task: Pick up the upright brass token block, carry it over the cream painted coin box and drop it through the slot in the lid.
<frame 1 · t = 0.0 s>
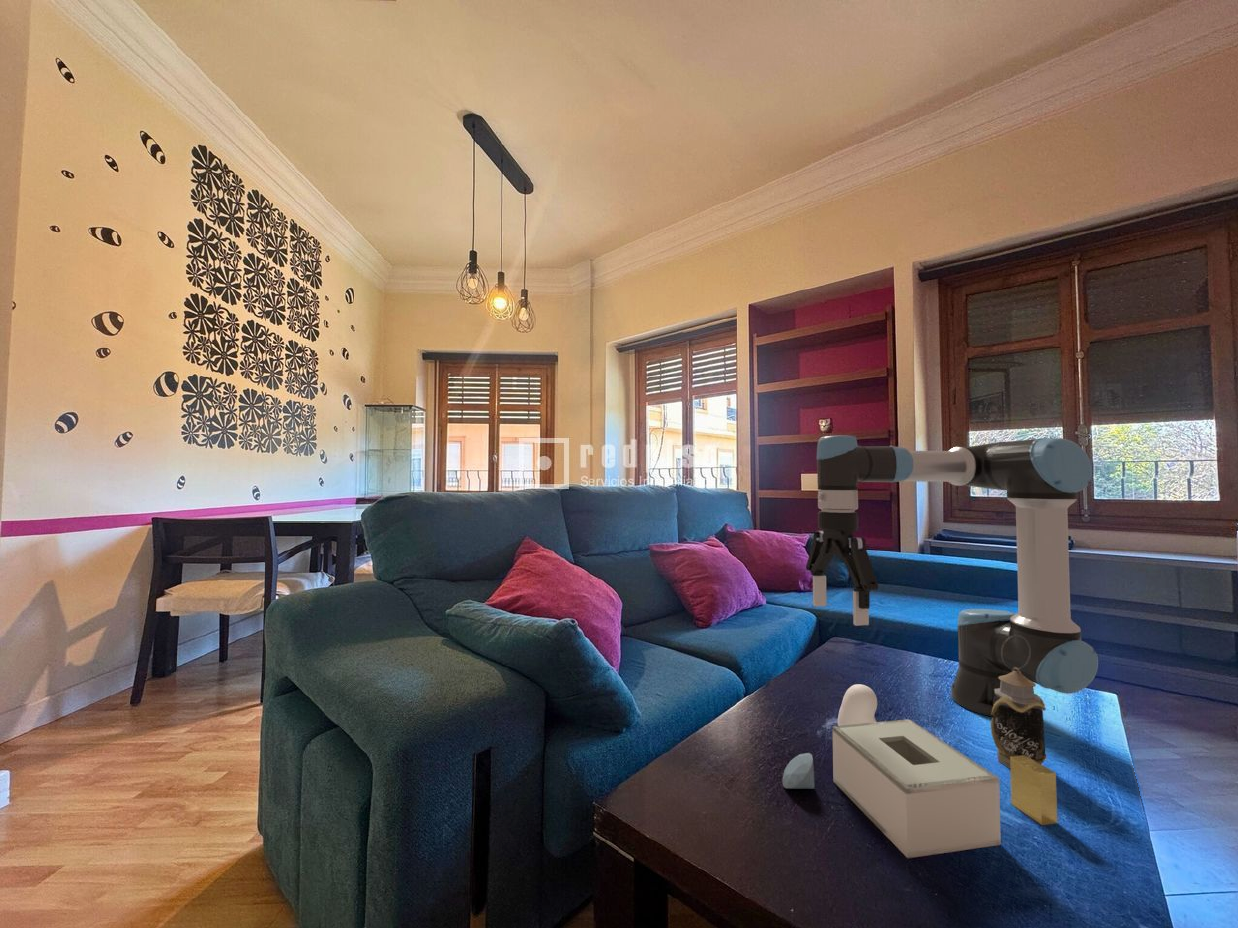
hand: (839, 614, 97), 28 cm above the table, fingers open, 13 cm apart
gemstone: (798, 786, 86), on the table
figurine: (857, 743, 100), on the table
ring-topped bottle ornament: (1018, 765, 93), on the table
token: (1033, 813, 79), on the table
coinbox: (909, 809, 80), on the table
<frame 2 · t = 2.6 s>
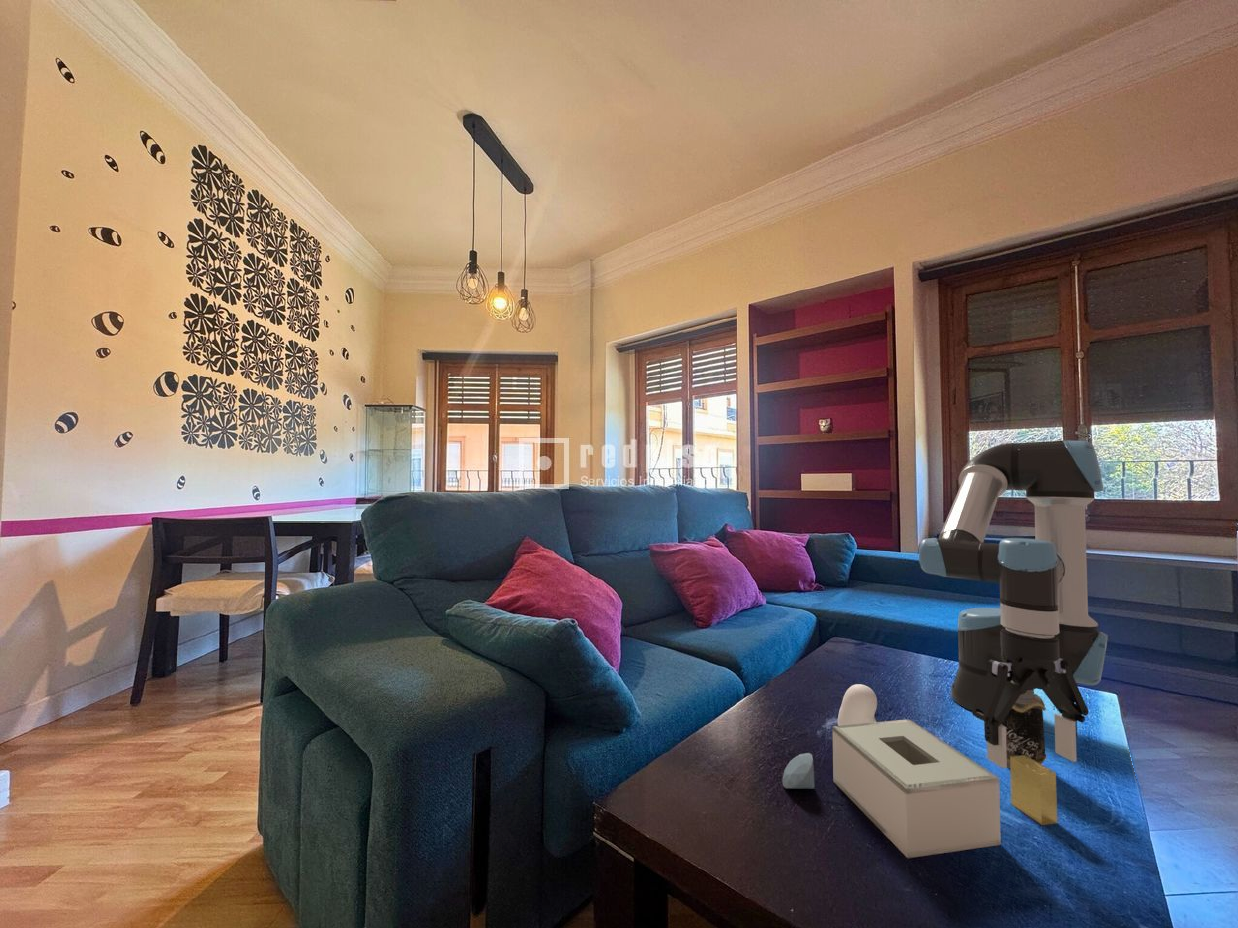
hand: (1031, 760, 79), 9 cm above the table, fingers open, 13 cm apart
nothing on the table moved.
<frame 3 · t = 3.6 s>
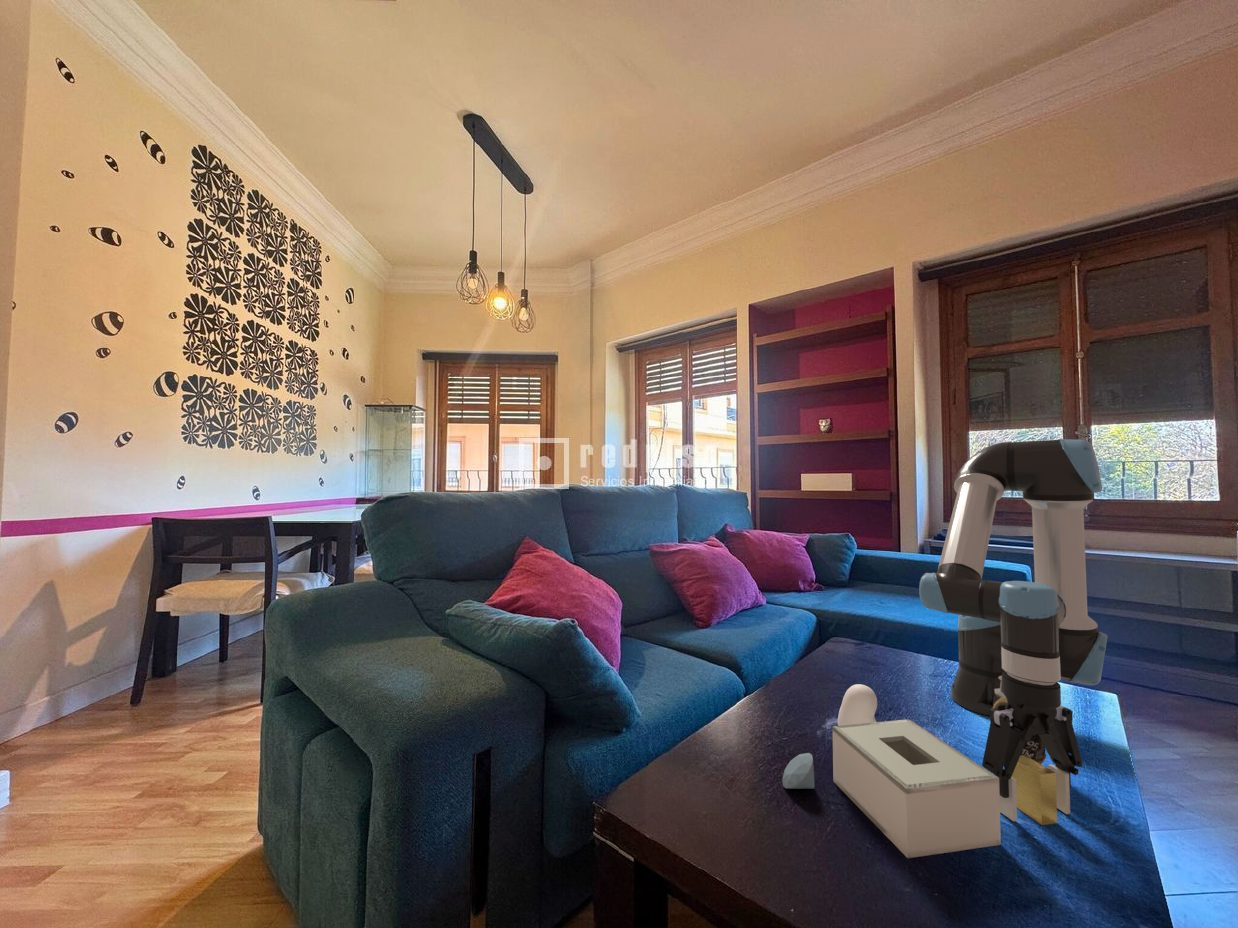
hand: (1033, 811, 79), 0 cm above the table, fingers open, 10 cm apart
nothing on the table moved.
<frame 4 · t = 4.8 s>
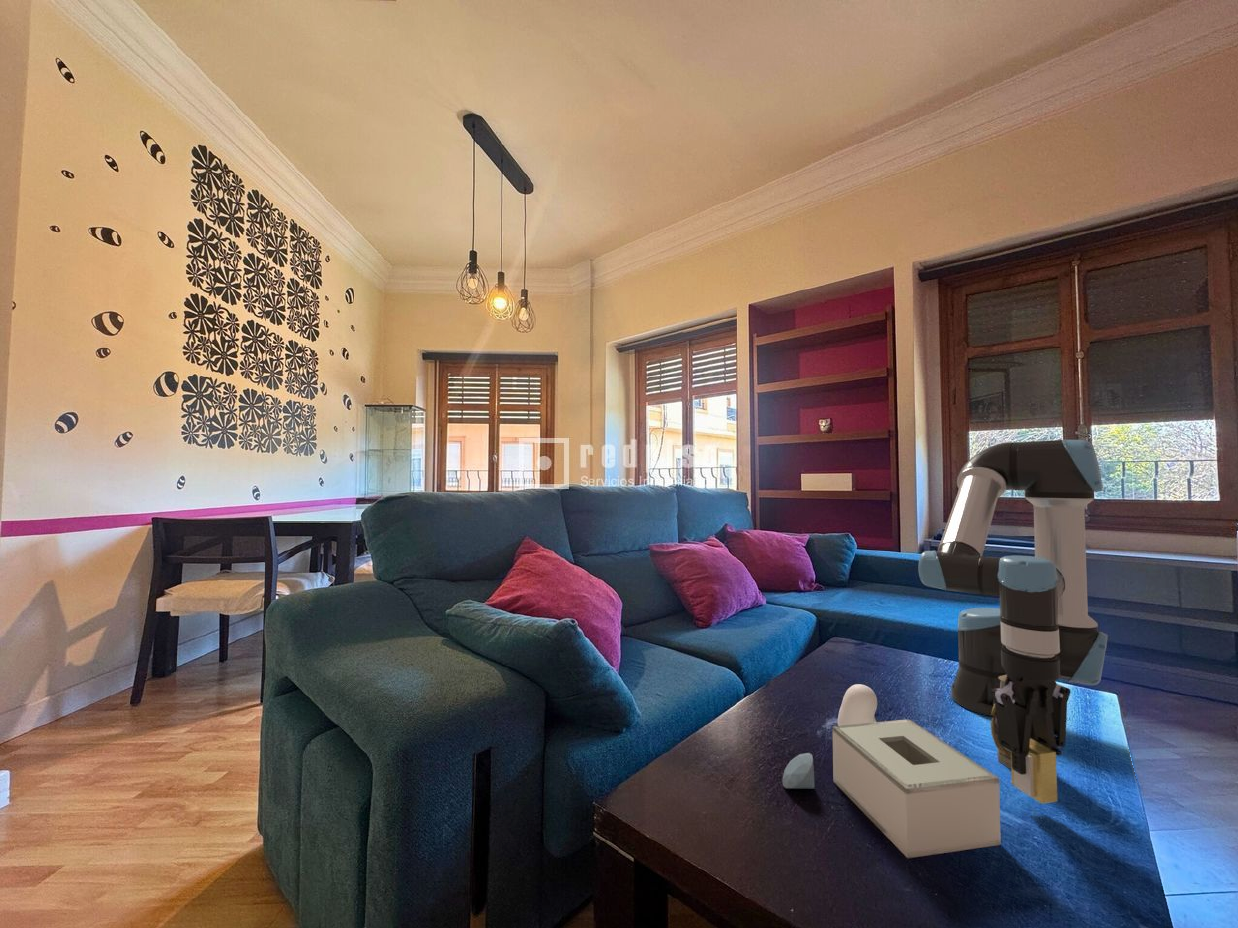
hand: (1033, 789, 80), 4 cm above the table, fingers closed on token, 3 cm apart
token: (1033, 792, 80), point 3 cm above the table, touching gripper
everything else where it was.
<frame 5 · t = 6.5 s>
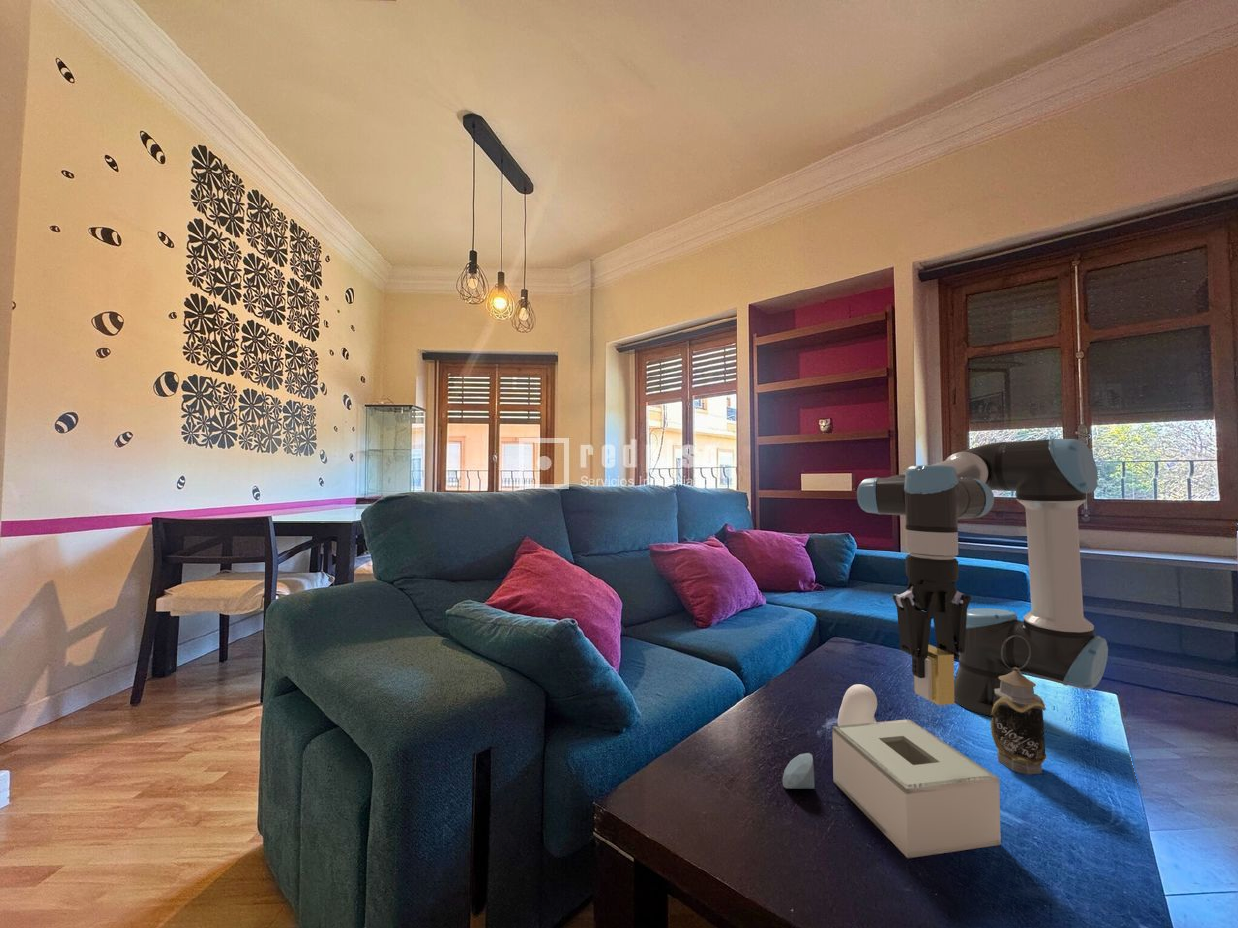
hand: (933, 695, 80), 19 cm above the table, fingers closed on token, 3 cm apart
token: (933, 697, 80), point 19 cm above the table, touching gripper
everything else where it was.
when the fingers open (11 cm above the table, at t = 8.2 s): token drops 9 cm, resting on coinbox.
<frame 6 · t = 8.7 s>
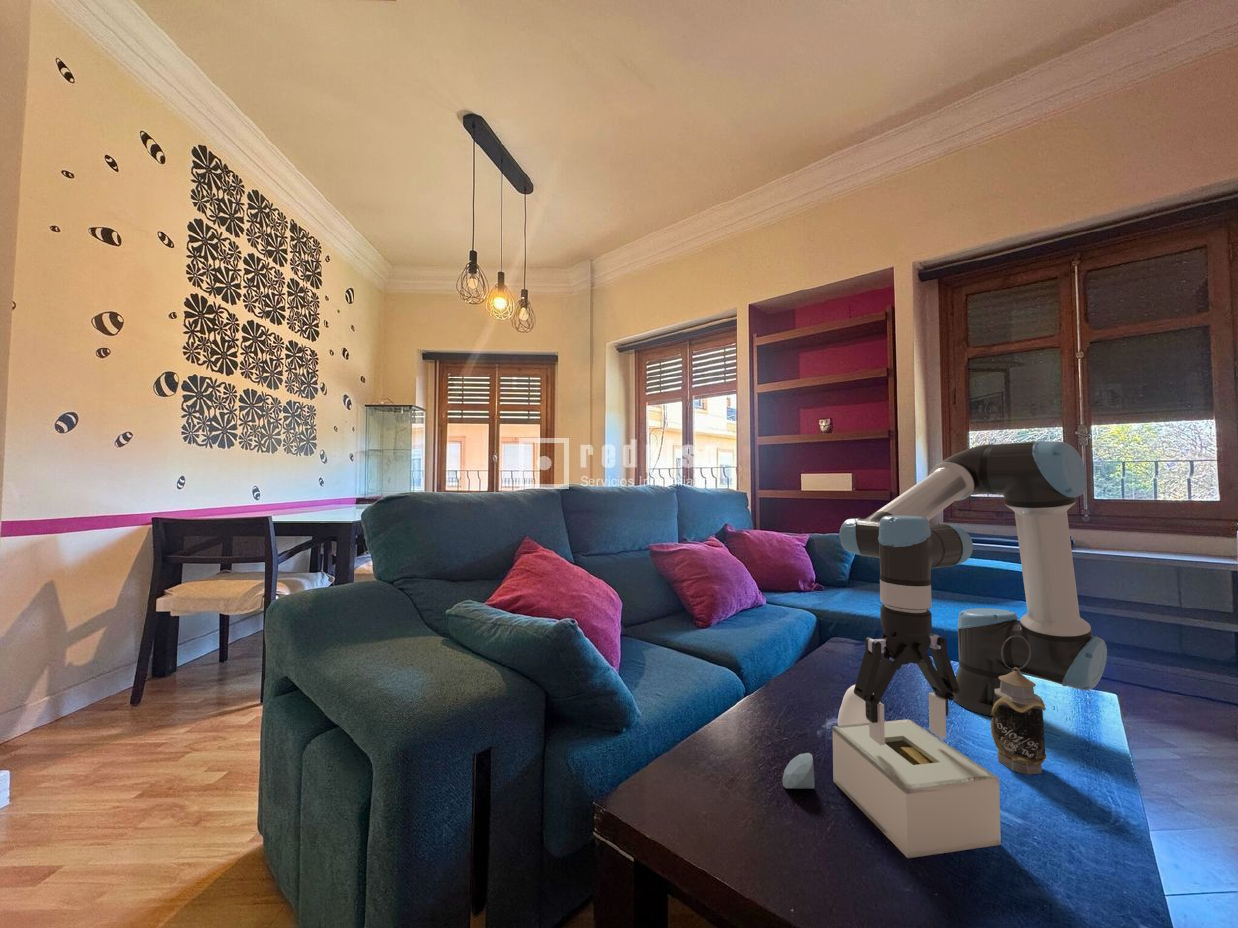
hand: (907, 737, 80), 12 cm above the table, fingers open, 11 cm apart
token: (911, 802, 80), point 1 cm above the table, tilted 10°, touching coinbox
everything else where it was.
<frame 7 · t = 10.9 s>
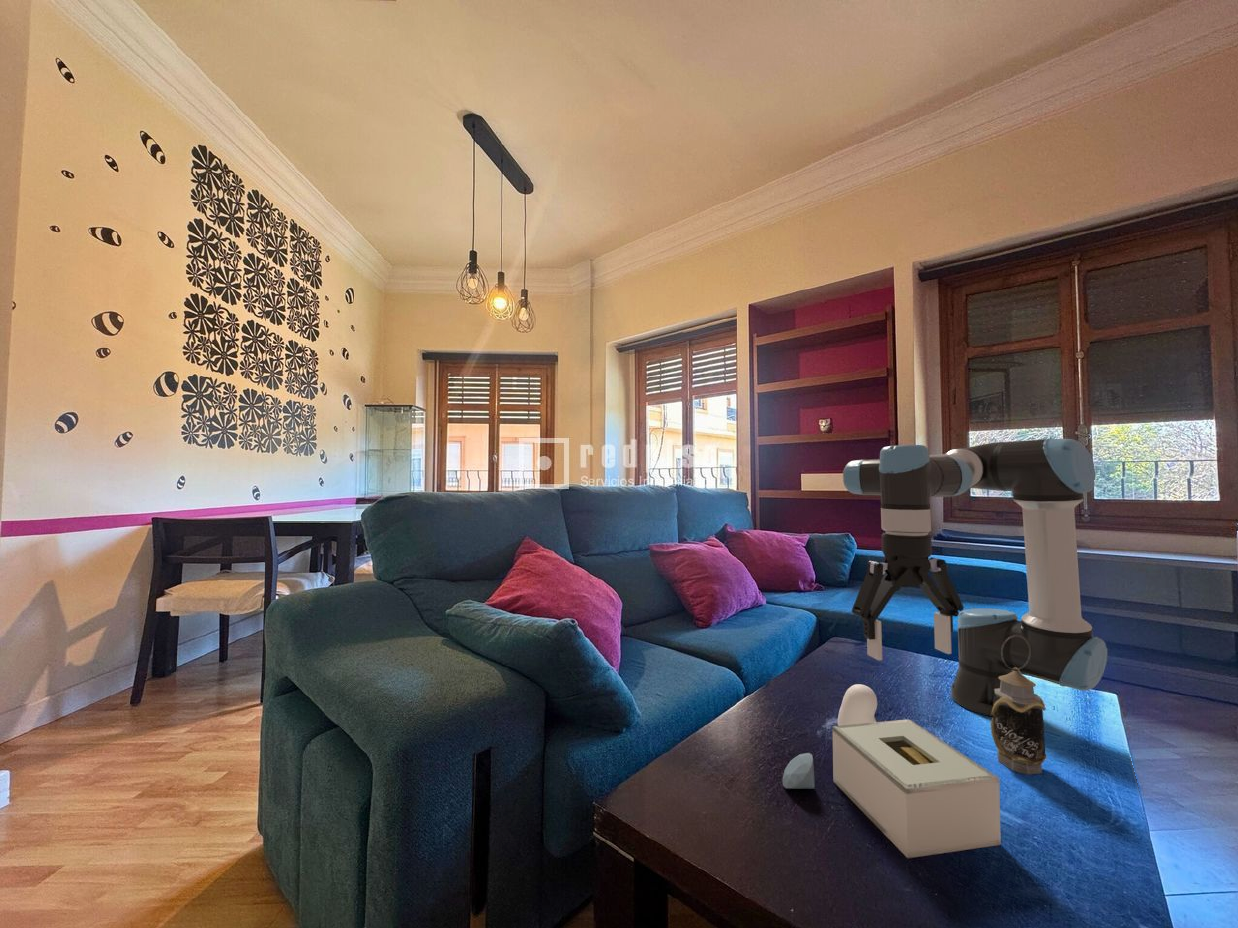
hand: (909, 654, 83), 25 cm above the table, fingers open, 13 cm apart
nothing on the table moved.
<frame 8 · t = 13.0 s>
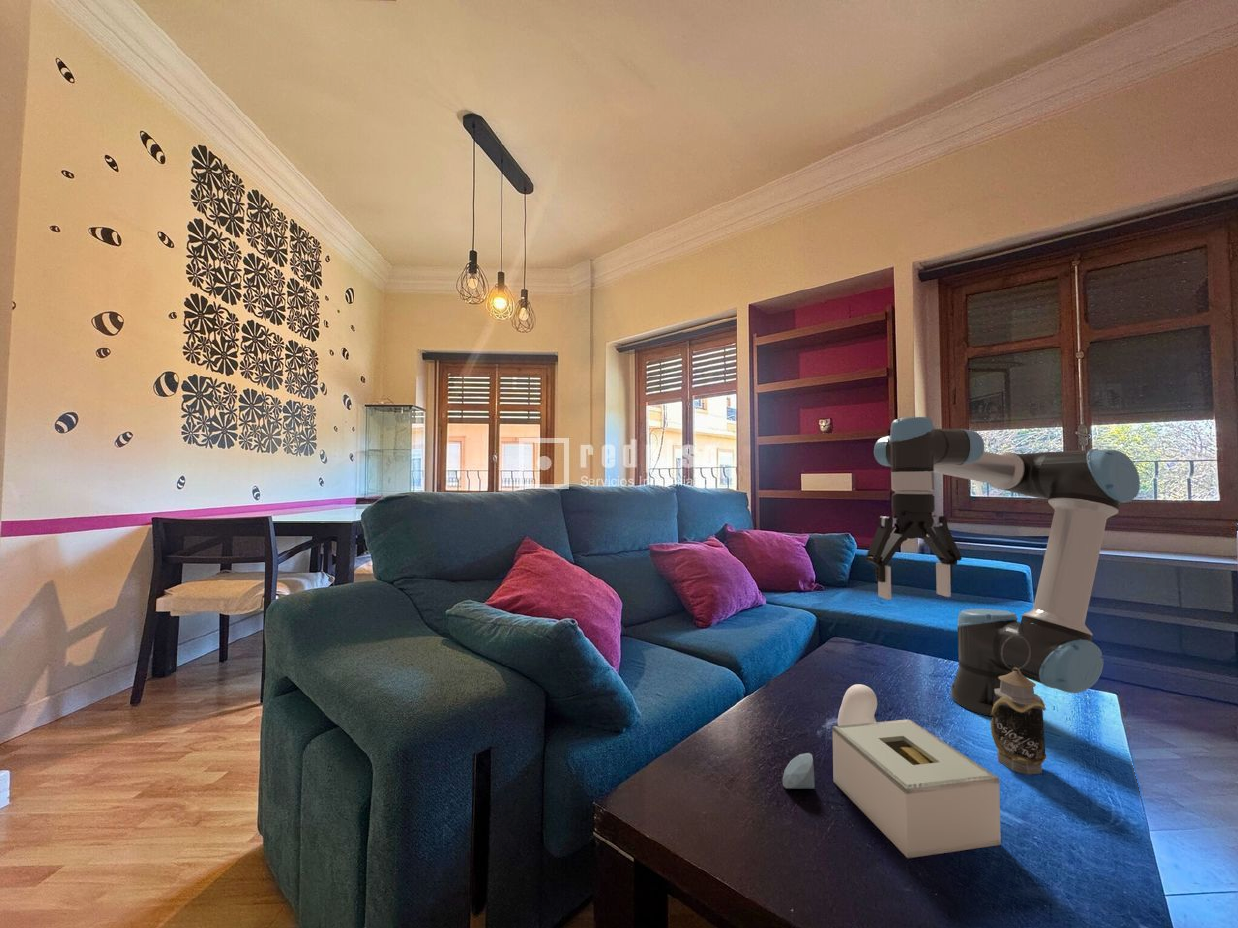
hand: (914, 596, 97), 32 cm above the table, fingers open, 13 cm apart
nothing on the table moved.
at the end: token inside the target area on the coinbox (0.3 cm from its centre), point 1.2 cm above the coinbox's base; the gripper is holding nothing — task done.
